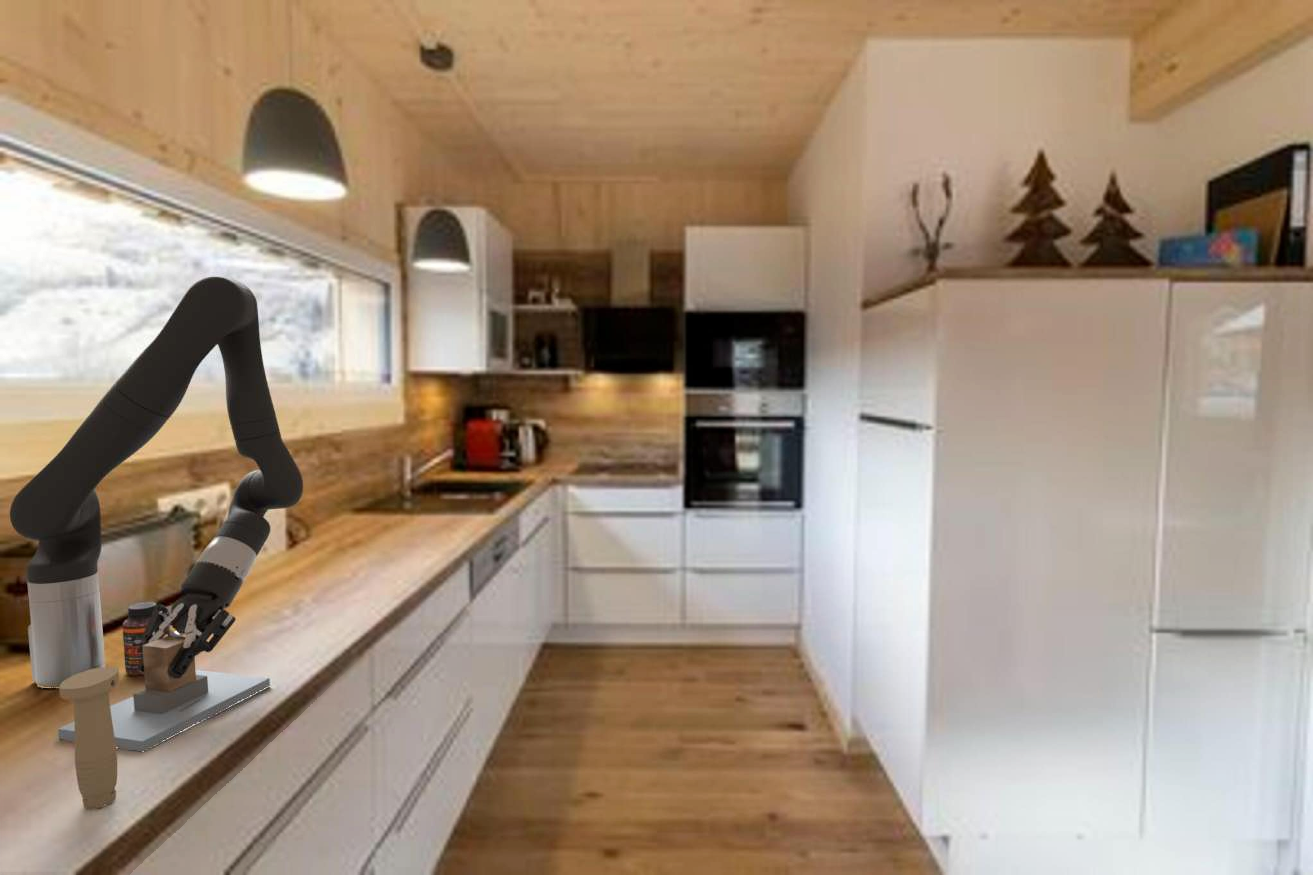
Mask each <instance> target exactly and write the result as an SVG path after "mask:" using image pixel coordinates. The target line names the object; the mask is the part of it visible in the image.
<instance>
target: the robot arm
mask: <svg viewBox="0 0 1313 875" xmlns="http://www.w3.org/2000/svg"><path fill="white" fill-rule="evenodd" d="M258 310H259V309H258V300H257V298H256V296H255V295H254V292H253V291H252V290H251V289H250V288H249V287H248V286H247V285H245V283H242V282H241V281H239V280H235V279H232V278H229V277H224V276H220V275H212V276H206V277H203V278H201V279H198V280H197V281H196V282H194V283H193V284H192V285H191V286H189V288H188V289H187V291H186V292H185V294H184V295H183V296H182V298H181V300H180V301H179V303H178V304H177V306H176V307H175V309H174V311H173V312H172V314H171V315H170V317H169V319H168V320H167V321H166V323H165V324H164V326H163V327H162V329H161V330H160V332H158V334H157V336H156V337H155V338H154V339H153V340H152V341H151V342H150V343H149V344H148V345H147V347H146V348H145V349H143V351H142V352H140V354H139V355H138V356H137V357H136V359H134V361H133V362H132V363H131V364H130V365H129V366H128V368H127V369H126V370H125V371H124V372H123V373H122V374H121V375H120V377H119V378H117V380H116V381H115V382H113V384H112V386H111V387H110V388H109V389H108V391H106V393H105V394H104V396H102V398H101V399H100V400H99V402H98V403H97V405H96V406H95V407H94V408H93V410H92V411H91V412H90V413H89V415H88V416H87V417H86V418H85V420H84V421H83V422H82V423H81V424H80V425H79V427H78V428H77V430H76V431H75V432H74V434H72V436H71V437H70V439H69V440H68V442H67V443H65V445H64V446H63V447H62V449H61V450H60V451H59V452H58V453H57V455H55V456H54V458H52V459H51V460H50V461H49V462H48V464H46V465H45V466H44V467H43V468H42V469H41V470H40V471H39V472H38V473H37V474H35V476H33V478H32V479H31V480H29V482H28V483H26V484H25V485H24V486H23V487H22V488H21V489H20V490H19V491H18V493H17V494H16V495H15V497H14V499H13V500H12V502H11V505H10V507H9V509H10V510H9V518H10V519H9V520H10V522H11V525H12V528H13V530H14V531H15V532H17V534H18V535H20V536H22V537H24V538H26V539H29V540H35V541H36V540H37V541H38V544H37V545H38V546H37V549H36V551H35V554H34V555H33V556H32V558H31V559H30V561H28V563H27V566H26V581H27V583H26V584H27V591H28V592H27V593H28V601H29V602H28V603H29V604H28V605H29V615H30V624H29V625H28V627H27V633H28V643H29V654H30V665H31V666H30V667H31V678H32V681H33V680H35V681H36V683H35V684H37V685H39V686H43V687H51V688H52V687H53V688H54V687H60V684H61V683H62V682H63V681H64V680H66V679H68V678H69V677H71V676H73V675H76V674H78V673H81V672H84V671H87V670H90V669H95V668H103V667H106V657H105V645H104V644H105V643H104V642H105V641H104V632H103V629H104V628H103V621H102V620H103V618H102V605H101V604H102V603H101V593H100V583H99V582H100V581H99V571H98V570H99V569H98V568H99V567H98V561H99V559H100V556H101V552H102V520H101V518H102V517H101V516H102V514H101V507H100V506H101V505H100V501H99V497H98V495H97V493H96V491H95V489H96V488H97V487H98V485H99V484H100V483H101V482H102V481H103V479H104V478H105V477H106V476H107V475H109V473H111V472H112V471H113V470H114V469H116V468H117V467H118V466H120V465H121V464H122V463H124V462H125V461H126V460H128V459H129V458H130V457H132V456H133V455H134V454H135V453H137V452H138V451H139V450H140V449H141V448H143V447H144V446H145V445H146V444H147V443H148V442H150V441H151V440H152V439H153V438H154V436H156V434H158V432H159V431H160V430H161V429H162V428H163V426H164V425H165V424H166V423H167V421H168V420H169V419H170V418H171V417H172V415H173V414H174V413H175V411H177V409H178V408H179V405H180V404H181V402H183V401H182V400H183V398H184V397H185V395H186V392H187V390H188V388H189V386H190V383H191V381H192V379H193V377H194V375H195V372H196V371H197V369H198V367H199V366H200V365H201V363H202V362H203V360H204V359H205V358H206V357H207V356H208V355H209V353H211V351H212V350H213V349H214V348H215V347H216V346H218V350H219V351H220V355H221V359H222V364H223V370H224V378H225V399H226V409H227V415H228V419H229V424H230V427H231V428H230V429H231V431H232V436H233V439H234V442H235V446H236V448H237V452H238V454H239V455H241V456H242V457H244V458H247V459H251V460H253V461H254V462H255V463H256V465H257V466H258V469H255V470H252V471H250V472H249V473H247V474H246V475H245V476H244V477H243V478H242V479H241V480H240V482H238V484H237V486H236V488H235V491H234V493H233V495H232V496H233V497H232V499H231V502H230V505H229V509H228V513H227V515H226V516H227V517H226V518H225V520H224V521H223V523H222V525H221V526H220V527H219V529H218V531H217V533H216V534H215V535H214V537H213V538H212V540H210V543H209V544H208V545H207V546H206V547H205V549H204V550H203V551H202V553H201V554H200V556H199V558H198V559H197V560H196V562H195V563H194V565H193V567H192V568H191V570H190V571H189V573H188V574H187V576H186V578H185V579H184V580H183V582H182V584H181V586H180V591H181V592H180V594H181V595H180V597H179V598H178V599H177V600H176V601H175V602H174V603H173V604H172V605H169V606H165V605H163V604H161V603H158V604H156V607H155V608H154V611H153V613H152V615H151V617H150V620H149V622H148V624H147V627H146V629H145V631H144V633H143V636H142V639H143V640H144V641H146V642H147V643H151V642H154V641H156V640H159V639H162V638H163V637H164V636H165V637H166V636H179V637H184V635H185V637H186V638H185V641H184V645H183V647H184V649H180V650H179V652H178V654H177V655H176V657H175V658H174V660H173V662H172V663H171V665H170V667H169V668H168V670H167V674H169V675H170V676H172V677H173V678H181V677H182V675H183V674H184V673H185V672H186V671H187V669H188V667H189V666H190V664H191V662H192V661H193V659H194V657H196V656H199V655H200V654H201V653H202V652H205V653H211V652H212V651H213V650H214V648H215V647H216V646H217V645H218V644H219V643H220V641H221V639H222V638H224V636H225V635H226V633H227V632H228V630H230V628H231V627H232V626H233V625H234V623H235V622H236V617H235V616H234V615H233V614H231V612H229V611H227V610H226V609H227V608H229V607H230V606H231V605H232V603H233V601H234V599H236V596H237V594H238V592H239V591H240V589H241V587H242V586H243V584H244V583H245V581H246V580H247V578H248V575H249V574H250V572H251V570H252V568H253V565H254V563H255V561H256V559H257V556H258V555H259V554H260V552H261V550H262V549H263V547H264V545H265V543H266V541H267V540H268V538H269V536H270V533H271V525H270V522H269V521H268V520H267V519H266V518H265V514H266V513H267V512H268V511H269V510H278V509H279V510H280V509H281V510H282V509H288V508H291V507H292V508H293V506H296V505H297V504H298V502H299V501H300V500H301V498H302V496H303V491H304V481H303V477H302V474H301V471H300V469H299V467H298V465H297V463H296V461H295V459H294V458H293V456H292V454H291V452H290V451H289V449H288V447H287V446H286V445H285V442H284V441H283V439H282V435H281V431H280V430H281V429H280V426H279V422H278V419H277V415H276V411H275V407H274V403H273V400H272V396H271V392H270V388H269V384H268V380H267V376H266V375H267V374H266V370H265V366H264V365H265V364H264V359H263V352H262V345H261V344H262V343H261V336H260V322H259V311H258ZM171 628H173V629H174V630H175V631H174V630H172V629H171ZM154 630H155V634H154V635H152V634H153V632H154ZM212 634H213V635H212ZM211 636H212V637H211ZM210 637H211V638H210ZM209 638H210V639H209ZM208 640H209V641H208ZM137 670H138V671H139V672H141V673H143V674H144V661H143V657H142V658H141V660H140V661H139V663H138V666H137Z"/></svg>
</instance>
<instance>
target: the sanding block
mask: <svg viewBox="0 0 1313 875" xmlns="http://www.w3.org/2000/svg"><path fill="white" fill-rule="evenodd" d="M185 638H186V636H182V637H179V636H168V635H166V636H165V637H164V638H162V639H159V640H156V641H154V642H151V643H148V644H146V645H143V646H142V648H143V661H144V675H143V676H144V687H145V688H143V689H141V690H139V691H137V692H133V693H132V697H133V698H134V711H141V712H149V713H156V714H163V713H165V712H167V711H169V710H171V709H174V708H176V707H178V706H180V705H182V704H184V703H186V702H188V701H190V700H193V699H195V698H197V697H199V696H201V695H203V694H205V693H207V692H208V679H207V676H203V675H196V670H197V669H196V659H195V657H196V656H195V657H194V659H193V661H192V662H191V664H190V666H189V667H188V669H187V671H186V672H185V673H184V674H183V675H182V677H181V678H173V677H172V676H170V675H169V674H167V670H168V668H169V667H170V665H171V663H172V662H173V660H174V658H175V657H176V655H177V654H178V652H179V650H180V649H184V647H183V645H184V641H185Z"/></svg>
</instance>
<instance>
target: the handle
mask: <svg viewBox="0 0 1313 875" xmlns="http://www.w3.org/2000/svg"><path fill="white" fill-rule="evenodd" d="M119 677H120V672H119V667H115V666H109V667H108V666H107V667H106V666H105V667H103V668H95V669H90V670H87V671H84V672H81V673H78V674H76V675H73V676H71V677H69V678H68V679H66V680H64V681H63V682H62V683H61V684H60V687H59V688H58V690H59V691H58V692H59V697H60V698H61V699H63V700H65V701H70V702H72V704H73V711H74V713H73V715H74V721H73V722H75V742H74V764H75V774H76V780H77V786H78V789H79V793H80V795H81V797H82V804H83V807H84V810H87V811H90V810H95V809H94V808H96V810H98V809H97V808H100V809H102V808H103V807H105V806H106V805H105V804H107V805H109V804H108V803H110V802H113V801H116V797H117V790H116V786H117V784H118V783H117V782H118V753H117V752H118V751H117V748H116V742H115V736H114V730H113V724H112V717H111V710H110V706H111V704H110V693H111V692H112V691H113V690H115V688H116V687H117V685H118V683H119V680H120V678H119ZM113 803H114V802H113ZM110 804H111V803H110ZM104 805H105V806H104ZM102 806H103V807H102ZM101 807H102V808H101Z"/></svg>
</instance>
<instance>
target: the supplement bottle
mask: <svg viewBox="0 0 1313 875" xmlns="http://www.w3.org/2000/svg"><path fill="white" fill-rule="evenodd" d="M156 606H157V602H153V601H149V602H148V601H145V602H139V603H135V604H132V605H130V606H128V608H127V609H128V610H127V611H128V617H127V618H126V619H125V620H124V621H123V623H122V642H123V655H124V667H125V673H126V675H130V676H133V677H135V676H136V677H138V676H140V677H141V676H145V675H144V674H143V673H141V672H139V671H138V670H137V666H138V663H139V661H140V660H141V658H142V657H143V648H142V646H143V645H146V644H148V643H147V642H146V641H144V640H143V639H142V636H143V633H144V631H145V629H146V627H147V624H148V622H149V620H150V617H151V615H152V613H153V611H154V608H155V607H156ZM154 634H155V630H154V632H153V634H152V635H154ZM164 637H166V635H165V636H164ZM164 637H163V638H164Z"/></svg>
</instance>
